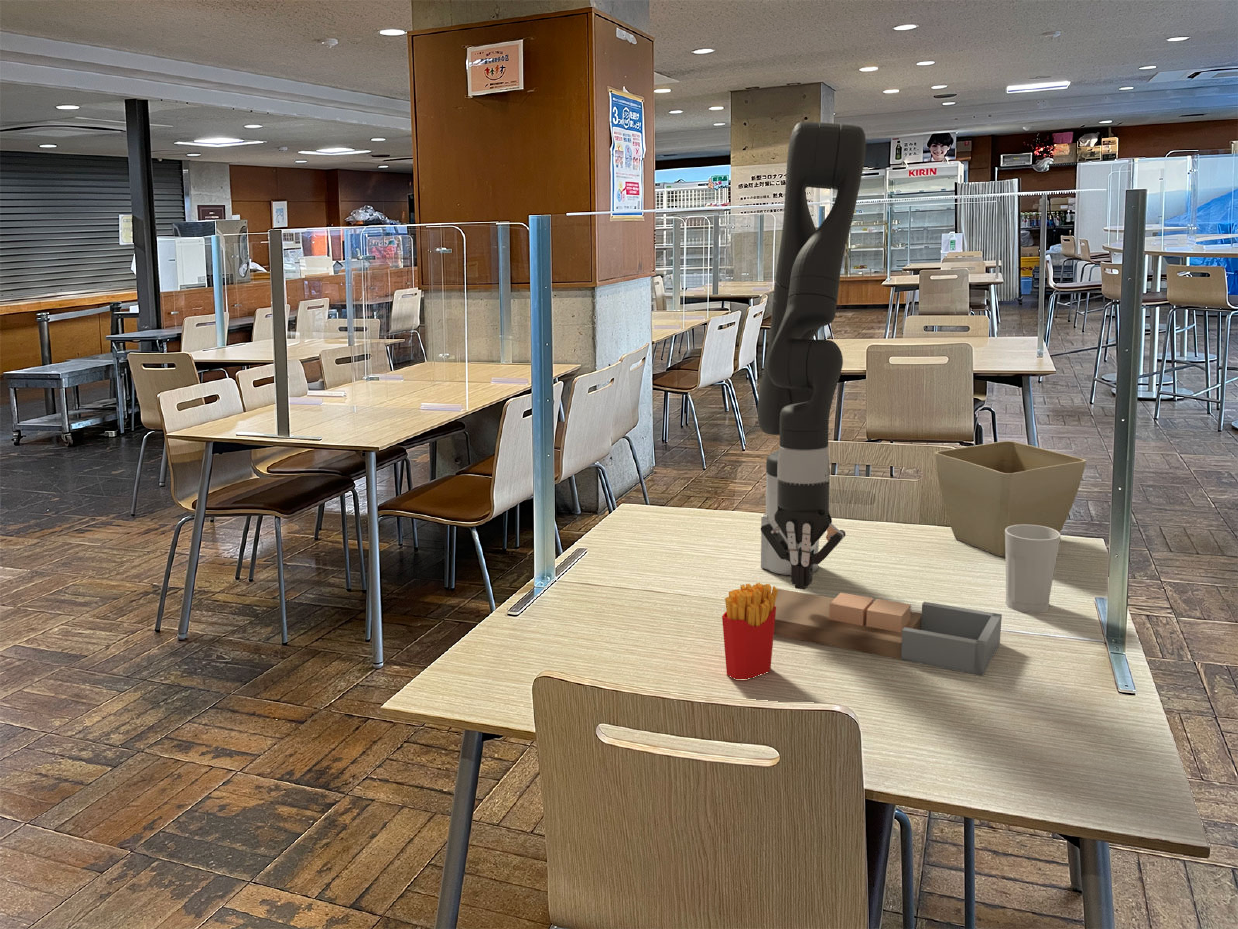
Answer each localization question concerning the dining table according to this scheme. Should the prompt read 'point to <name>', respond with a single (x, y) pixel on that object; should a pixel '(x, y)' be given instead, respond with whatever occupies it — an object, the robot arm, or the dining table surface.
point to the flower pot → (1005, 490)
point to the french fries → (749, 630)
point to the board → (833, 626)
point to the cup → (1030, 566)
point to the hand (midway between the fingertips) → (801, 587)
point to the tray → (953, 638)
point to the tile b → (888, 615)
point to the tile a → (850, 608)
